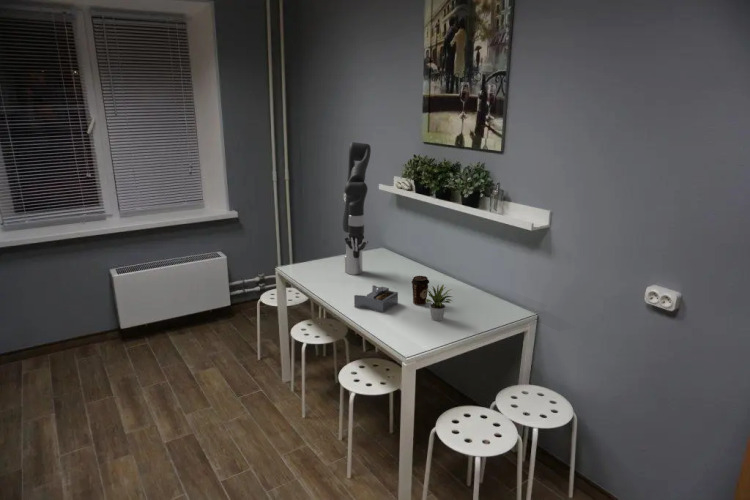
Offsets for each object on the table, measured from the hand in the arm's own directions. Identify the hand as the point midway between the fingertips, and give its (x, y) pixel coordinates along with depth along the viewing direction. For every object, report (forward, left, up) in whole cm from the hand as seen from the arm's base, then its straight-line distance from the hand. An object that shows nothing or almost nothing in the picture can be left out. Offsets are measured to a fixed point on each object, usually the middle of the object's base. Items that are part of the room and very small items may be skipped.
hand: (356, 257), depth 243 cm
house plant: (+45, -2, -21) cm, 50 cm away
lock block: (+13, -1, -21) cm, 25 cm away
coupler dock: (+13, -2, -21) cm, 25 cm away
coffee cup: (+30, +11, -21) cm, 38 cm away
